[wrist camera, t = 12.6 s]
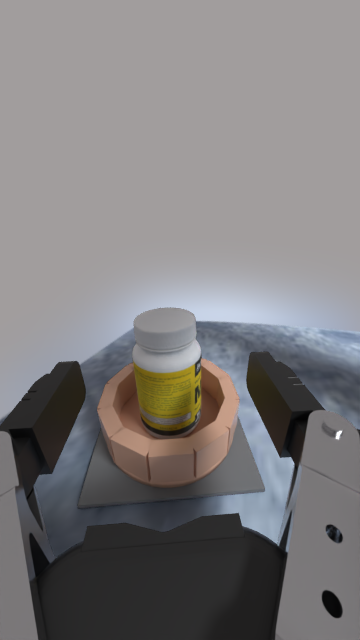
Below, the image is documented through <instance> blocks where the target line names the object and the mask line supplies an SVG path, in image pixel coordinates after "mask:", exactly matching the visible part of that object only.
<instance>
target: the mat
mask: <svg viewBox="0 0 360 640" xmlns="http://www.w3.org/2000/svg"><path fill="white" fill-rule="evenodd" d="M255 492H265V487H264V484H263V482H262V479H261V476H260V474H259V471H258V468H257V466H256V463H255V460H254V458H253V455H252V452H251V450H250V447H249V444H248V442H247V439H246V436H245V434H244V431H243V428H242V426H241V423H240V420H239V418H238V417H237V425H236V428H235V432H234V436H233V441H232V445H231V447H230V450H229V452H228V454H227V456H226V457H225V459H224V460H223V462H222V463H221V464H220V465H219V466H218V467H217V468H216V469H215V470H214V471H213V472H212V473H210V474H209V475H207V476H206V477H204V478H203V479H201V480H199V481H196V482H194V483H191V484H188V485H185V486H180V487H174V488H160V487H153V486H149V485H145V484H142V483H140V482H138V481H135V480H133V479H132V478H130V477H129V476H127V475H126V474H125V473H123V472H122V471H121V470H120V469H119V468H118V466H117V465H116V464H115V463H114V461H113V459H112V457H111V455H110V453H109V450H108V446H107V443H106V441H105V438H104V436H103V432H102V428H101V429H100V432H99V435H98V439H97V442H96V445H95V449H94V452H93V455H92V459H91V462H90V465H89V469H88V472H87V475H86V479H85V482H84V485H83V489H82V492H81V495H80V499H79V502H78V505H77V506H78V508H90V507H101V506H112V505H123V504H134V503H145V502H156V501H167V500H178V499H189V498H200V497H211V496H222V495H233V494H244V493H255Z"/></svg>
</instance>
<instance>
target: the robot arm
mask: <svg viewBox="0 0 360 640" xmlns="http://www.w3.org/2000/svg"><path fill="white" fill-rule="evenodd" d="M246 382H247V388H248V391H249V394H250V396H251V398H252V400H253V402H254V404H255V406H256V408H257V410H258V412H259V414H260V417H261V419H262V421H263V423H264V425H265V427H266V429H267V431H268V433H269V435H270V437H271V439H272V441H273V444H274V446H275V448H276V450H277V452H278V454H279V456H280V458H282V457H291V458H292V459H293V461H294V463H295V464H294V467H293V472H292V477H291V482H290V487H289V492H288V497H287V502H286V507H285V512H284V517H283V521H282V525H281V529H280V533H279V537H278V542H277V544H276V543H274V542H273V541H272V540H270V539H269V538H267V537H266V536H264V535H262V534H260V533H259V532H257V531H254V530H252V529H249V528H247V527H243V526H242V524H241V520H240V516H239V513H235V514H223V515H212V516H202V517H200V518H197V519H195V520H193V521H191V522H188V523H186V524H184V525H181V526H179V527H177V528H174V529H172V530H170V531H167V532H159V531H155V530H151V529H147V528H143V527H139V526H136V525H132V524H128V523H119V524H107V525H96V526H87V530H86V534H85V538H84V541H83V542H80V543H78V544H76V545H75V546H73V547H71V548H69V549H68V550H67V551H65V552H64V553H62V554H61V555H60V556H58V557H57V558H56V559H55V556H54V553H53V551H52V548H51V545H50V542H49V539H48V536H47V532H46V528H45V524H44V519H43V515H42V511H41V507H40V503H39V499H38V494H37V490H36V487H35V485H34V484H35V482H36V480H37V478H38V476H39V475H42V474H52V472H53V470H54V468H55V465H56V463H57V461H58V459H59V456H60V454H61V452H62V450H63V448H64V445H65V443H66V441H67V439H68V436H69V434H70V432H71V430H72V427H73V425H74V423H75V421H76V418H77V416H78V414H79V412H80V409H81V407H82V405H83V403H84V400H85V395H86V389H85V384H84V380H83V377H82V373H81V369H80V365H79V363H78V362H77V361H71V362H59V363H58V364H57V365H56V366H55V367H54V369H53V370H52V371H51V373H50V374H46V375H44V376H43V377H41V378H40V379H39V380H37V381H36V382H35V383H34V384H33V385H32V387H31V388H30V389H29V390H28V393H26V394H25V395H24V397H23V398H22V401H20V402H19V403H18V404H17V405H16V407H15V408H14V409H13V410H12V412H11V413H10V414H9V415H8V417H7V418H6V419H5V420H4V422H3V423H2V424H1V425H0V640H360V430H359V429H356V428H355V427H354V426H353V424H352V423H350V422H349V421H348V420H347V419H345V418H344V417H342V416H340V415H338V414H336V413H334V412H330V411H326V410H325V409H324V408H323V407H322V406H321V404H320V403H319V402H318V401H317V400H316V398H315V397H314V396H313V395H312V394H311V392H310V391H309V390H308V389H307V388H306V386H305V385H303V383H302V382H301V381H300V379H299V378H297V376H296V375H295V373H294V372H293V371H292V370H291V369H290V368H289V367H288V366H286V365H285V364H283V363H282V362H276V361H275V360H274V359H273V357H272V356H271V355H270V353H269V352H251V353H250V356H249V363H248V371H247V379H246Z"/></svg>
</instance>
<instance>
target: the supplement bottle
mask: <svg viewBox="0 0 360 640" xmlns="http://www.w3.org/2000/svg"><path fill="white" fill-rule="evenodd" d="M134 333H135V340H136V344H135V346H134V348H133V351H132V358H133V365H134V372H135V379H136V387H137V394H138V401H139V409H140V416H141V422H142V424H143V426H144V428H145V430H146V431H147V432H148V433H149V434H150V435H152V436H154V437H156V438H159V439H176V438H182V437H184V436H186V435H188V434H189V433H191V432H192V431H193V430H194V429H195V428H196V426H197V425H198V423H199V421H200V416H201V348H200V345H199V343H198V341H197V340H196V334H197V331H196V319H195V316H194V314H193V313H191V312H189V311H187V310H184V309H180V308H159V309H154V310H149V311H146V312H144V313H141V314H140V315H138V316H137V317H136V318H135V320H134Z"/></svg>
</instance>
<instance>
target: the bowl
mask: <svg viewBox="0 0 360 640" xmlns="http://www.w3.org/2000/svg"><path fill="white" fill-rule="evenodd" d="M238 409H239V397H238V394H237V392H236V389H235V387H234V385H233V382H232V380H231V378H230V376H229V375H228V374H227V373H226V372H224V371H223V370H221V369H220V368H219V367H217V366H216V365H214V364H213V363H212V362H210V361H207V360H206V359H202V358H201V416H200V421H199V423H198V425H197V426H196V428H195V429H194V430H193V431H192V432H191V433H189V434H188V435H186V436H184V437H182V438H176V439H159V438H156V437H154V436H152V435H150V434H149V433H148V432H147V431H146V430H145V428H144V426H143V424H142V422H141V416H140V409H139V401H138V394H137V387H136V379H135V372H134V365H133V363H130V364H128V366H127V365H126V366H125V367H124V368H123V369H122V370H121V371H119V372H118V373H117V374H116V375H115V376H114V377H112V378H111V379H110V380H109V381H108V382H107V384H105V387H104V390H103V393H102V396H101V399H100V402H99V405H98V407H97V412H98V416H99V420H100V424H101V428H102V432H103V436H104V438H105V441H106V443H107V446H108V450H109V453H110V455H111V457H112V459H113V461H114V463H115V464H116V465H117V466H118V468H119V469H120V470H121V471H122V472H123V473H125V474H126V475H127V476H129V477H130V478H132V479H133V480H135V481H138V482H140V483H142V484H145V485H149V486H153V487H160V488H174V487H180V486H185V485H188V484H191V483H194V482H196V481H199V480H201V479H203V478H204V477H206V476H207V475H209V474H210V473H212V472H213V471H214V470H215V469H216V468H217V467H218V466H219V465H220V464H221V463H222V462H223V460H224V459H225V457H226V456H227V454H228V452H229V450H230V447H231V445H232V441H233V436H234V432H235V428H236V425H237V417H238Z"/></svg>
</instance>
